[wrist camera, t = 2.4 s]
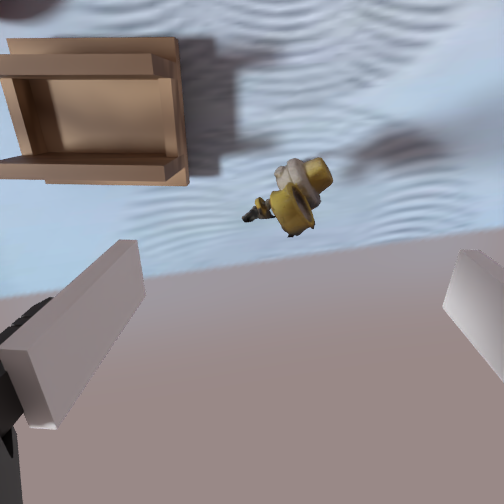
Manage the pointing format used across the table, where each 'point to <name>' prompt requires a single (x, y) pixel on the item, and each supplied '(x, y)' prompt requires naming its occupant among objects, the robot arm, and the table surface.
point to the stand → (96, 111)
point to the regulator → (294, 195)
